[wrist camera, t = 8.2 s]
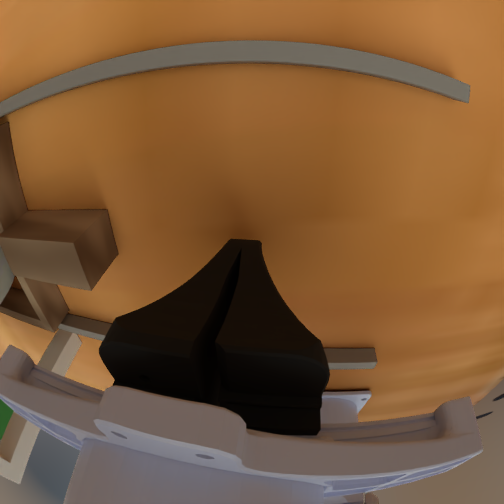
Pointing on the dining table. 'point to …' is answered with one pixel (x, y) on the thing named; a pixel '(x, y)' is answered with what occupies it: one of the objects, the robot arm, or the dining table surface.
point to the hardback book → (4, 417)
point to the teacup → (5, 276)
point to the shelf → (223, 52)
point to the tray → (47, 249)
